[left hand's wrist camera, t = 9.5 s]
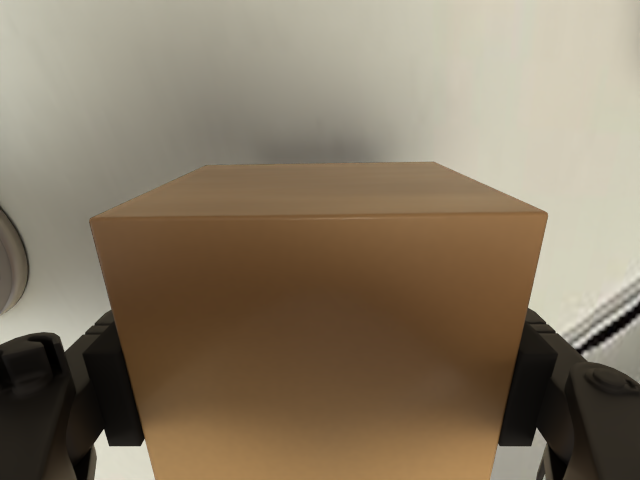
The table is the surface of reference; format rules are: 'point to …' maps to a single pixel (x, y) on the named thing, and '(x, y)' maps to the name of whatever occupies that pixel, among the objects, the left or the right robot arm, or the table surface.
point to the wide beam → (320, 319)
